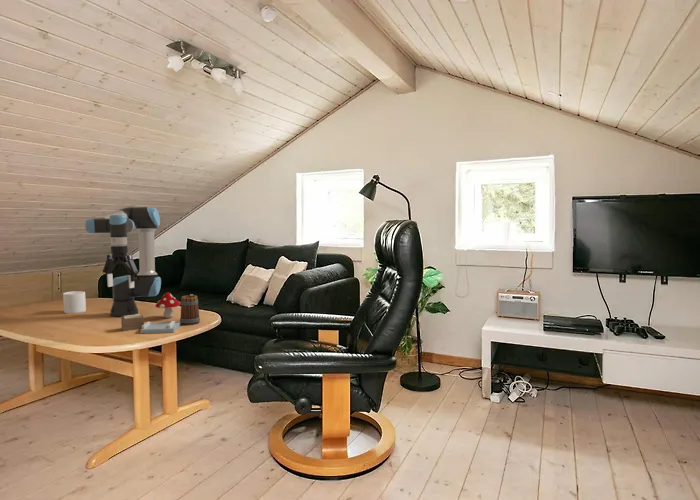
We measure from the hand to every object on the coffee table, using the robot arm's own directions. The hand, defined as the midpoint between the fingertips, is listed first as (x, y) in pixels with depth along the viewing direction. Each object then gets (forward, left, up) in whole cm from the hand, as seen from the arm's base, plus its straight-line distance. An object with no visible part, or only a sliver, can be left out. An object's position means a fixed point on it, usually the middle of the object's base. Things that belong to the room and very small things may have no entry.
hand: (120, 287), depth 232 cm
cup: (-57, -47, -24) cm, 78 cm away
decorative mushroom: (-32, +15, -24) cm, 43 cm away
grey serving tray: (-4, +18, -24) cm, 30 cm away
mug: (-19, +30, -24) cm, 43 cm away
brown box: (-8, +2, -24) cm, 25 cm away
